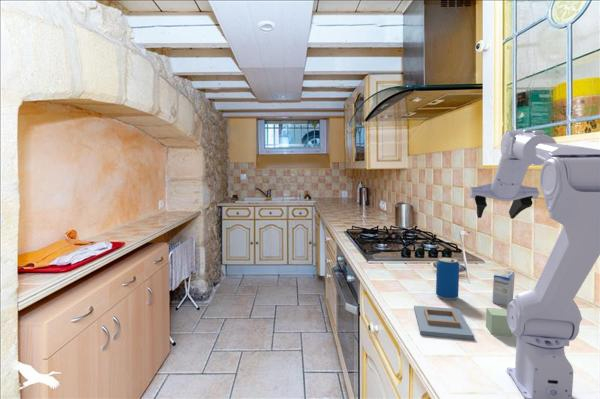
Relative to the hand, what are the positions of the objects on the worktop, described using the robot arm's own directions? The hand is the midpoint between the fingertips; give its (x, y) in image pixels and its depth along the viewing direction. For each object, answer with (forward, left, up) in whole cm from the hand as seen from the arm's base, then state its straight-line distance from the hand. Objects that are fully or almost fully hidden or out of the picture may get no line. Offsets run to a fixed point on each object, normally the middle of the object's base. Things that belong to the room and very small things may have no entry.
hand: (494, 215), depth 89 cm
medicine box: (+16, -8, -28) cm, 34 cm away
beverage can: (+16, +8, -28) cm, 33 cm away
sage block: (-6, 0, -28) cm, 29 cm away
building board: (-4, +13, -28) cm, 31 cm away
